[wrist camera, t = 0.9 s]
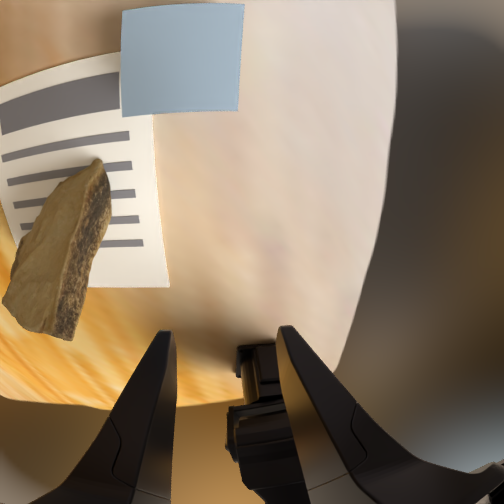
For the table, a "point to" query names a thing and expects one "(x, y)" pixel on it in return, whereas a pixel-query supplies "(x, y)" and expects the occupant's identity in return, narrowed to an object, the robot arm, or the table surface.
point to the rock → (60, 254)
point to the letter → (84, 162)
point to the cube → (181, 58)
